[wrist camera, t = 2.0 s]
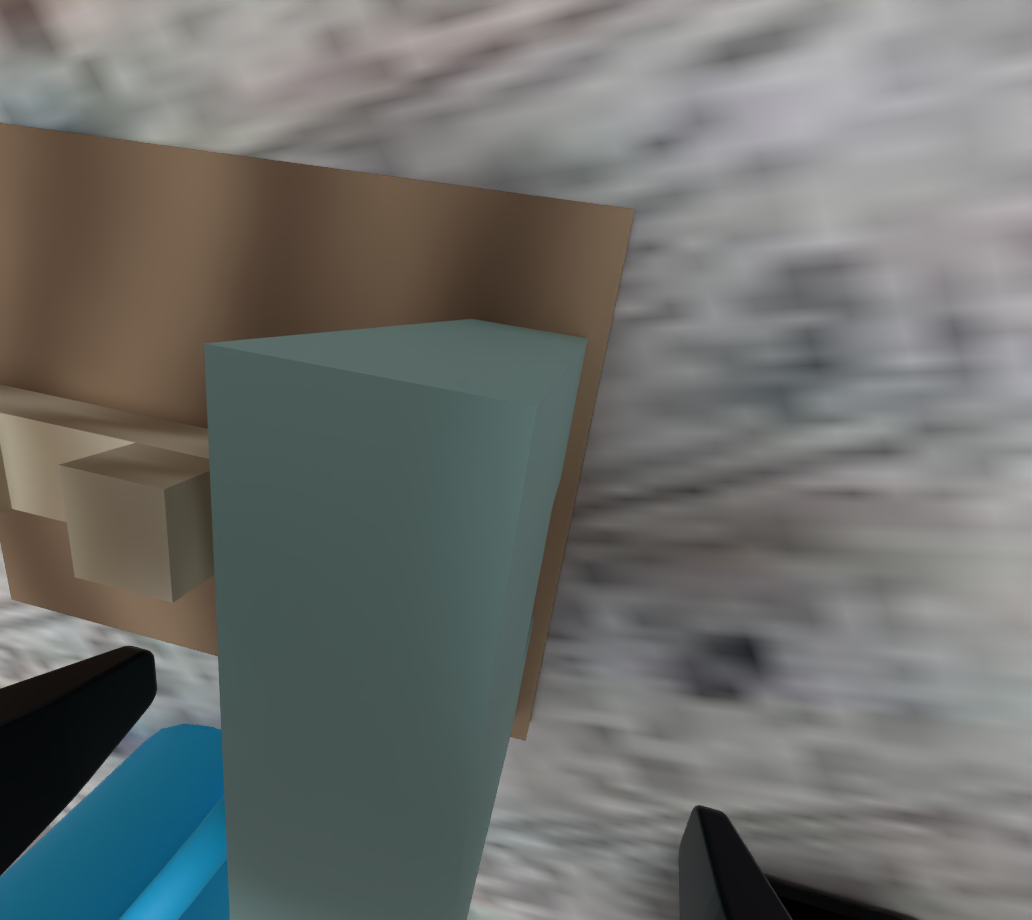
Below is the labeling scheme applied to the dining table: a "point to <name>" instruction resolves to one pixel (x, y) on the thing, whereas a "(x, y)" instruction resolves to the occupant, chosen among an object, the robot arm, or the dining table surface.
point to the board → (262, 307)
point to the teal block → (376, 602)
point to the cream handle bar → (112, 489)
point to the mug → (135, 842)
